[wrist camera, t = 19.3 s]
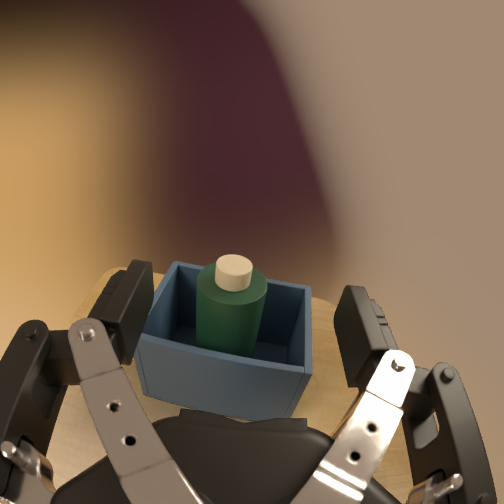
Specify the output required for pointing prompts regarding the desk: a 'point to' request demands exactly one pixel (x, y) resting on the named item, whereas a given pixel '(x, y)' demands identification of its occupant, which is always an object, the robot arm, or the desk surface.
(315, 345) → the desk surface
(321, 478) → the robot arm
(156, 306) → the blue open storage bin
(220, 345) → the bottle
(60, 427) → the desk surface
